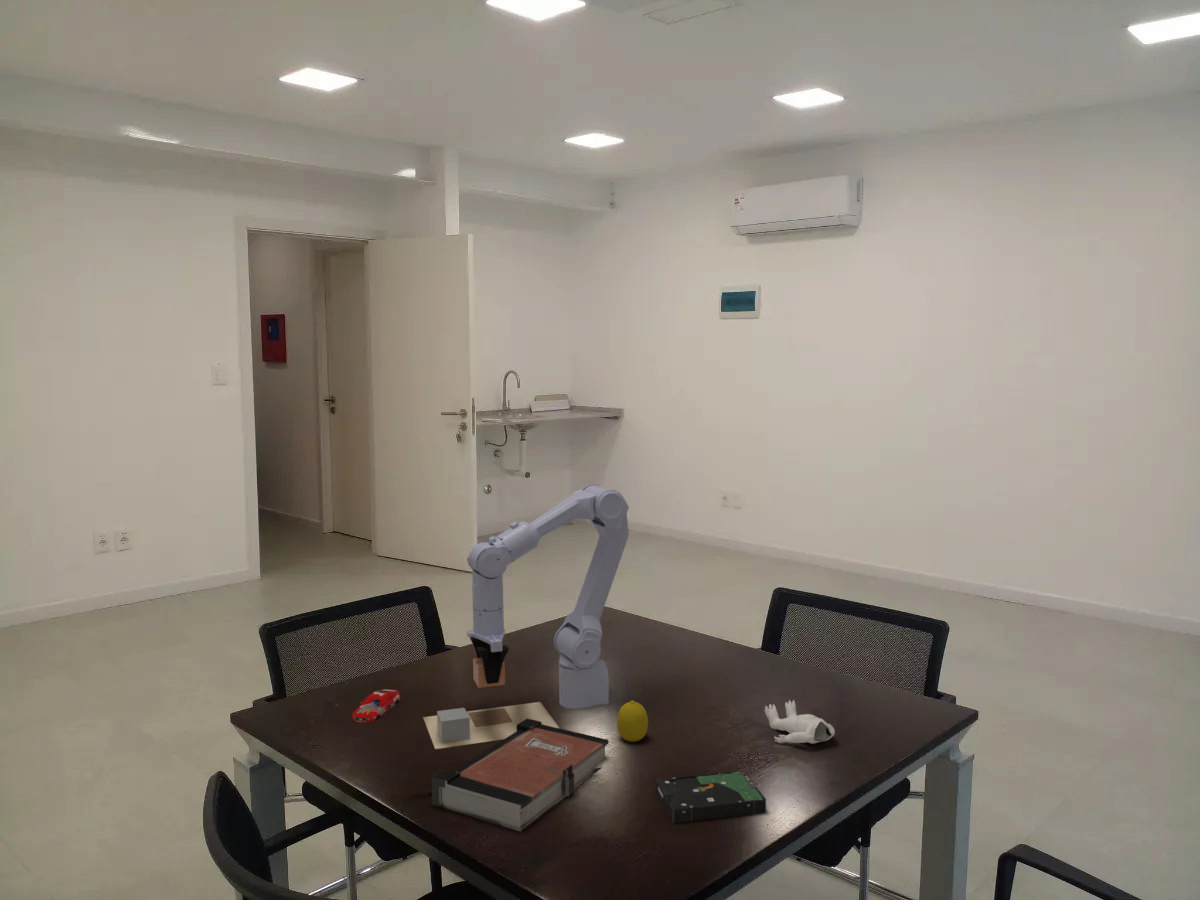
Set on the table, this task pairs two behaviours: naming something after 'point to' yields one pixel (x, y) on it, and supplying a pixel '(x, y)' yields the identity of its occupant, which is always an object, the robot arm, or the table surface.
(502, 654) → the robot arm
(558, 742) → the book
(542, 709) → the board
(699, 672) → the table surface
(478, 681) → the terracotta brick
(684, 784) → the disk drive
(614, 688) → the table surface
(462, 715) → the grey brick
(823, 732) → the toy creature
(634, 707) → the lemon
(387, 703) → the race car
